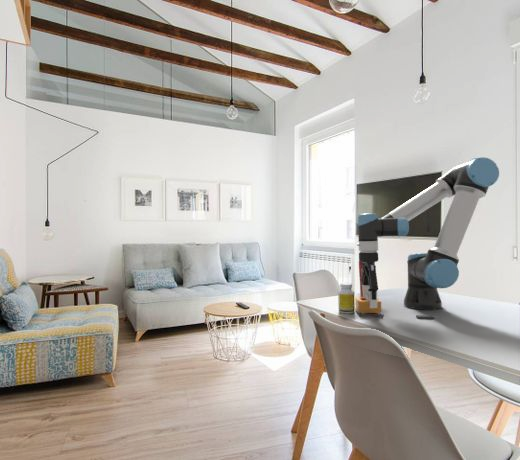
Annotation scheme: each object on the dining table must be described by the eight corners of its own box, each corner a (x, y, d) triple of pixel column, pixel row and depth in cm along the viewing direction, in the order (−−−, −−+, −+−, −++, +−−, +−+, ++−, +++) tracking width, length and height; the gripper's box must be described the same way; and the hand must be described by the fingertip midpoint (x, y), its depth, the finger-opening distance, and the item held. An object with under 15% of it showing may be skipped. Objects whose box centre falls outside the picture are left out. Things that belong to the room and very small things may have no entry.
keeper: (355, 310, 150) (354, 291, 150) (377, 310, 149) (376, 291, 149) (359, 316, 139) (359, 296, 139) (383, 316, 138) (383, 296, 139)
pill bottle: (355, 314, 143) (354, 285, 143) (338, 313, 144) (338, 284, 144) (354, 310, 149) (353, 282, 149) (338, 310, 151) (338, 282, 151)
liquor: (372, 300, 172) (371, 241, 172) (377, 303, 164) (377, 242, 164) (356, 300, 171) (356, 241, 172) (361, 303, 164) (361, 242, 164)
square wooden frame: (376, 308, 148) (376, 297, 148) (381, 313, 140) (381, 301, 140) (355, 308, 149) (355, 297, 149) (359, 312, 141) (358, 301, 141)
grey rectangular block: (432, 317, 136) (432, 315, 136) (434, 319, 134) (434, 316, 134) (415, 317, 137) (415, 315, 137) (418, 318, 135) (418, 316, 135)
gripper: (353, 250, 157) (355, 298, 157) (364, 253, 132) (366, 311, 132) (371, 249, 157) (372, 298, 156) (385, 253, 132) (387, 311, 132)
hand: (369, 304), depth 144 cm, fingers open, 13 cm apart
